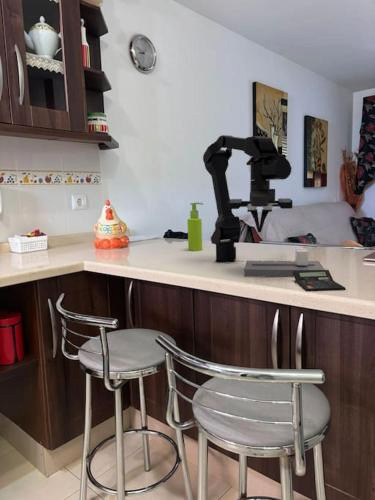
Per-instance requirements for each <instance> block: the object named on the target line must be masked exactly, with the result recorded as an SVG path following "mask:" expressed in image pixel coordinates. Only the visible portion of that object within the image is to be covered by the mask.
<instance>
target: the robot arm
mask: <svg viewBox="0 0 375 500" xmlns="http://www.w3.org/2000/svg"><path fill="white" fill-rule="evenodd" d="M276 146H277V145H275V143H274V139H273V137H269V136H254V135H253V136H247V137H238V136H237V137H236V136H232V135H228V134H227V135H225V134H221V135H220V136H218V138H217V139H216V141H214V142H212V144H210V145H208V146H207V148H206V150H205V152H203V153H204V154H203V155H202V160H203V161H202V162H203V163H204V168H205V170H206V171H207V172H208V174H209V175H210V176H211V181H212V187H213V194H214V199H215V205H216V210H217V218H216V220H215V223H214V230H213V233H212V234H211V236H210V242H211V244H214V245H215V262H216V263H217V262H218V263H219V262H221V263H222V262H223V263H225V262H226V263H228V262H229V263H232V262H235V260H236V259H237V247H236V246H235V243H237V244H238V243H239V242H240V239H241V234H242V229H241V228H242V226H241V221H240V217H239V216H238V215H236V216H235V215H234V213H233V210H238V209H240V208H245V207H246V208H247V213H249V212H250V213H251V215H252V218H253V220H254V224H255V226H256V230H257V233H261V232H262V231H263V227H264V224H265V221H266V218H267V216H268V214H269V213H272V212H273V207H279V208H280V209H286V210H287V209H293V203H294V202H293V200H292V199H291V198H284V197H283V198H277V200H276V188H271V181H275V180H276V181H278V180H286V179H288V178H289V176H290V175H291V173H292V166H291V162H290V161H289V160H288V159H287V156H286V154H280V152H279V151H278V149H277V147H276ZM224 149H225V150H224ZM233 150H237V151H242V152H243V153H244V154H245V155H247V156H249V157H250V159H248V161H246V166H249V167H250V173H249V174H250V183H249V185H250V186H249V189H250V190H249V191H250V192H249V200H243V198H230V191H229V186H228V180H227V173H226V172H227V170H228V167H229V160H230V158H232V157H233V156H232V155H233ZM259 207H261V214H260V215H261V216H260V220H259V211H258V208H259Z"/></svg>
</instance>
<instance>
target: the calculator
mask: <svg viewBox="0 0 375 500" xmlns="http://www.w3.org/2000/svg"><path fill="white" fill-rule="evenodd" d="M293 275H294V277H293V278H294V281H295V282H296V285H297V286H299V287H300V288H301V289H303V290H304V291H305V292H327V291H329V292H332V291H346V290H347V289H346V287H345V286H343V285H342V284H340V283H338V281H337V282H336V281H335V280H334V279H333V277H332V274H331V273H330V270H329V269H325V270H307V271H293Z"/></svg>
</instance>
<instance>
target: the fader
mask: <svg viewBox="0 0 375 500" xmlns="http://www.w3.org/2000/svg"><path fill="white" fill-rule="evenodd" d="M294 261H295V262H296V264H297V265H308V261H309V251H308V249H307V248H301V247H300V248H296V247H295V258H294Z"/></svg>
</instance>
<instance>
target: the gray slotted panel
mask: <svg viewBox="0 0 375 500" xmlns="http://www.w3.org/2000/svg"><path fill="white" fill-rule="evenodd" d="M307 270H326V269H325V268H324V267H323V265H322V263H321V262H320V261H319V260H308V265H297V264H296V262H295V260H246V262H245V264H244V268H243V276H244V277H275V278H278V277H284V278H285V277H287V278H288V277H289V278H294V275H293V271H307Z"/></svg>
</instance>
